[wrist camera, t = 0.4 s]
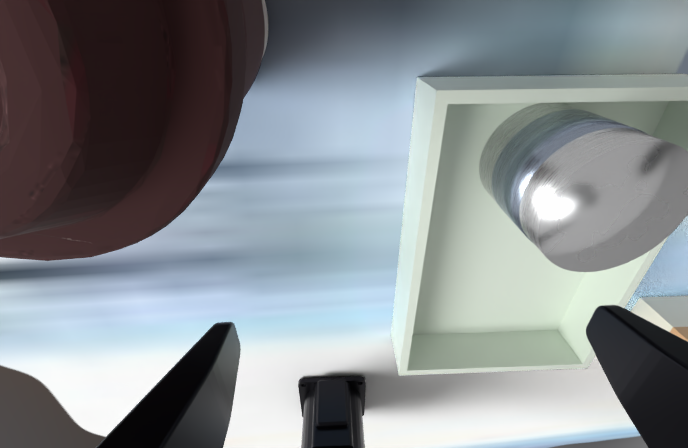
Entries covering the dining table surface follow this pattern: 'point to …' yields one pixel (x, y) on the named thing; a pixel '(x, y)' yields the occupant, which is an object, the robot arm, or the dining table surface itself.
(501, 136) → the tin can
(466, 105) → the tote
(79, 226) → the coffee cup
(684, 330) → the taped carton
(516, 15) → the dining table surface
